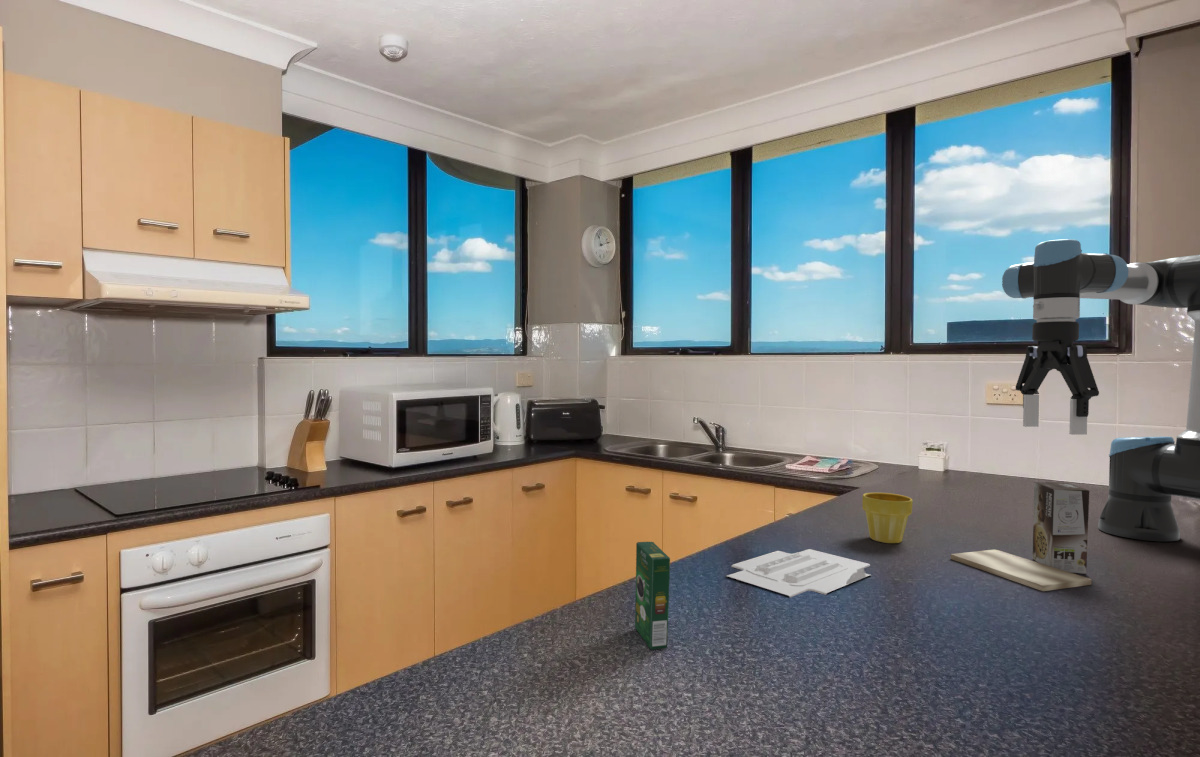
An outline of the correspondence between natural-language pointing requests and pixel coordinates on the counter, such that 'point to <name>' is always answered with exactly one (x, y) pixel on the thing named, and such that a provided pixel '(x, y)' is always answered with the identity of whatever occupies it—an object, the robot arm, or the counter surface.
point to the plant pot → (886, 515)
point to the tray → (800, 572)
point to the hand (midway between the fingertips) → (1053, 430)
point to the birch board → (1021, 570)
